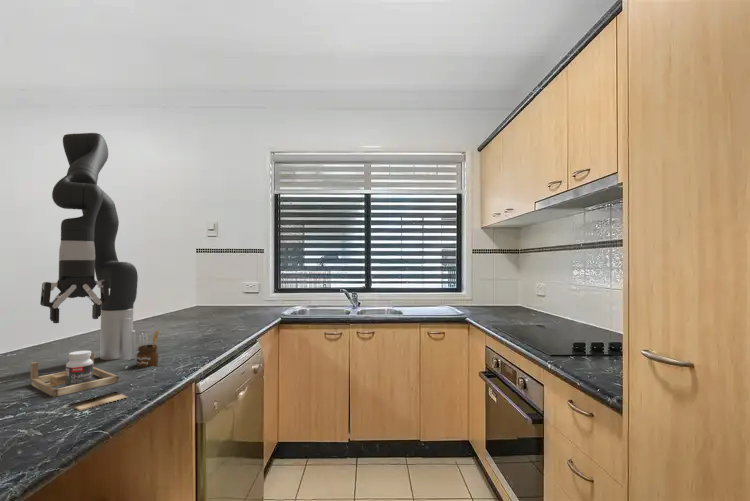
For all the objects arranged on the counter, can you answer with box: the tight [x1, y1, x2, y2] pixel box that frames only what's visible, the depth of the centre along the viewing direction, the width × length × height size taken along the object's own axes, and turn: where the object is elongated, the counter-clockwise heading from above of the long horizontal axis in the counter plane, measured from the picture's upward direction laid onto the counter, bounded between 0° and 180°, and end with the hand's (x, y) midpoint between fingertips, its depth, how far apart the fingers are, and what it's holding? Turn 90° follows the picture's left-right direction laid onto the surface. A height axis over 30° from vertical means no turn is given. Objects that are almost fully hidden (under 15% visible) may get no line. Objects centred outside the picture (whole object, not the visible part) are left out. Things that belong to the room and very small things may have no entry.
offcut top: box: [49, 373, 66, 386], centre depth 106 cm, size 7×3×2 cm, turn 154°
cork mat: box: [68, 391, 129, 412], centre depth 96 cm, size 10×10×1 cm
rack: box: [29, 352, 119, 398], centre depth 104 cm, size 14×16×7 cm
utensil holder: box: [136, 330, 160, 368], centre depth 123 cm, size 6×6×12 cm
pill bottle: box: [64, 350, 94, 387], centre depth 103 cm, size 6×6×10 cm
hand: (76, 320), depth 103 cm, fingers open, 8 cm apart
